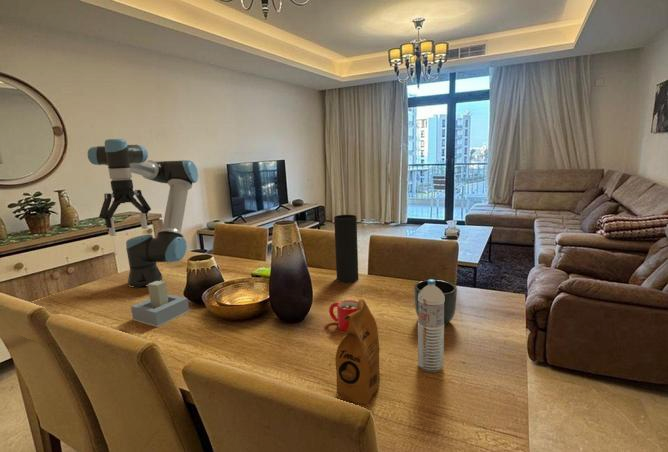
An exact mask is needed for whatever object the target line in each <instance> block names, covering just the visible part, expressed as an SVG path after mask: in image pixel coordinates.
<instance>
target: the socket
mask: <svg viewBox="0 0 668 452" xmlns="http://www.w3.org/2000/svg"><path fill="white" fill-rule="evenodd" d="M167 294H168V300H169V303H166V304H164V305H162V306H160V307H157V308H155V309H153V308H152V307H151V301H150V298H148V299H146V300H143V301H141V302H139V303H136V304H134V305H131V306H130V309H131V315H132V320H133V321H135V322H139V323H142V324H144V325H149V326H153V327H156V328H159V327H162V326H163V325H166V324H167V323H170V322H171V321H173V320H175V319H177V318H179V317H181V316H183V315H185V314H188V313H189V312H190V309H189V308H190V307H189V300H188V298H187V297H183V296H179V295H174V294H169V293H167Z"/></svg>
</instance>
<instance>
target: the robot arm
mask: <svg viewBox="0 0 668 452" xmlns="http://www.w3.org/2000/svg"><path fill="white" fill-rule="evenodd" d="M104 140H105V139H104ZM148 157H149V153H148V150H147V148H146V147H145V146H143V145H140V144H128V143H127V141H126V139H125V138H109V139H106V140H105V141H104V145H101V146H100V145H98V146H92V147H90V148H89V149H88V150H87V159H88V161H89V163H91V164H93V165H96V166H107V168H108V173H109V179H111V181H110V186H111V190H112V193H107V192H106V193H104V195H103V196H104V197H103V198H104V199H103V200H104V201H103V203H102V207H101V209H100V212H99V216H98V218H99V219H102V220H104V221H105V227H106V228H108V231H109V232H108V233H109V236H111V237H116V235H117V234H116V228H115V223H114V222H115V221H114V219H113V218H112V217H113V215H114V214H115V213H116V211H117V209H118V208H119V206H120V205H121V204H126V203H131V204H132V205H133V206H134V207H135V208H136V209H137V210H138V211H139V212H140V213H139V218H140V226H141V229H143V230H147V229H148V222H147V221H148V220H149V219H148V214H149V212H150V211H152V208H151V206H150V205H149V204H148V202H147V201H146V199H145V198H144V196H143V193H142V190H141V189H135V190H134V183H133V180H132V179H131V178H132V177H133V176H132V174H136V175H138V176H139V175H140V176H141V177H142V178H143V179H145V180H149V181H153V182H157V183H160V184H167V185H168V186H169V191H168V195H167V196H168V197H167V202H166V207H165V212H164V217H163V222H162V226H161V227H162V228H161V230H159V231H158V232H157V236H156V237H154V236H153V234H149V233H148V234H142V235H139V236H134V237H131V238H129V239H127V240H126V243H125V244H126V245H125V246H126V249H125V250H126V253H127V259H128V265H129V273H128V279H127V286H128V285H130V286H134V287H139V286H146V285H148V284H150V283H152V282H155V281H160V280H162V279H163V275H162V273H161V271H160V269H159V267H158V265H157V263H173V262H174V263H175V262H180V261H181V260H182V259H183V258H184V257H185V255H186V253H187V248H188V247H187V246H188V245H187V240H186V239H185V238H184V235H183V233H182V228H183V221H184V215H185V209H186V206H187V205H186V203H187V199H188V193H189V190H191V189H192V187H193V184H195V183H197V182H198V181H199V171H198V167H197V166H196V164H195V162H194V161H192V160H190V159H189V160H188V159H187V160H184V159H182V160H164V161H163V160H161V161H153V160H147V159H148ZM135 196H136V197H135ZM136 198H137V199H136ZM112 199H113V200H112ZM111 203H112V204H111ZM162 281H163V280H162Z"/></svg>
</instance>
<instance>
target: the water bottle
mask: <svg viewBox="0 0 668 452" xmlns="http://www.w3.org/2000/svg"><path fill="white" fill-rule="evenodd" d="M427 280H428V285H427V286H425V287H424V288H423V289H422V290H421V291H420V292H419V294H418V301H419V310H418V315H417V316H418V321H417V364H418V367H419V368H420V369H421V371H423V372H427V373H433V374H434V373H440V372H441V371H442V370H443V368H444V361H445V360H444V356H445V354H444V353H445V352H444V351H445V350H444V349H445V326H444V302H445V296H444V294H443V292H442V291H441V290H440V289H439V288H438V287H436V286H435V280H436V279H432V278H431V279H430V278H429V279H427Z"/></svg>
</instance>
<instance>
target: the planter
mask: <svg viewBox="0 0 668 452" xmlns="http://www.w3.org/2000/svg"><path fill="white" fill-rule="evenodd" d="M428 280H429V279H427V280H421V281H418V282H416V283H415V284H414V287H413V291H414V292H413V293H414V296H413V297H414V308H415V312H416V315H417V316H418V310H419V301H418V294H419V292H420V291H421V290H422V289H423V288H424V287H425V286H427V285H428ZM434 280H435V286H436V287H438V288H439V289H440V290H441V291H442V292H443V294H444V296H445V302H444V327H445V326H447V324H448V323H450V322H451V321H452V319H453V318H454V316H455V313H456V308H457V307H456V306H457V297H458V296H457V295H458V290H457V289H458V288H457V286H456V284H453V283H451V282H449V281H444V280H441V279H440V280H438V279H434Z"/></svg>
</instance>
